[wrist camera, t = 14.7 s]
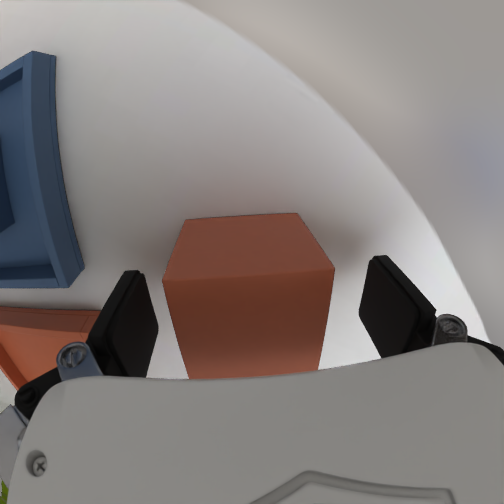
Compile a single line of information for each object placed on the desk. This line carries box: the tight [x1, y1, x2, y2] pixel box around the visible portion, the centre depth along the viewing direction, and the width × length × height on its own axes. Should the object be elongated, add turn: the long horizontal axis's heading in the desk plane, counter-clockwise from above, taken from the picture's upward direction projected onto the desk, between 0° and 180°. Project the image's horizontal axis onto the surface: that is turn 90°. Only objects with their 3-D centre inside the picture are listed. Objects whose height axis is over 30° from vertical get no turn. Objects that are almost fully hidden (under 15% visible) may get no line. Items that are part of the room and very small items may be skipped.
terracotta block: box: [162, 213, 335, 379], centre depth 11 cm, size 5×5×5 cm
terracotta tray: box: [0, 306, 101, 391], centre depth 15 cm, size 13×11×2 cm
